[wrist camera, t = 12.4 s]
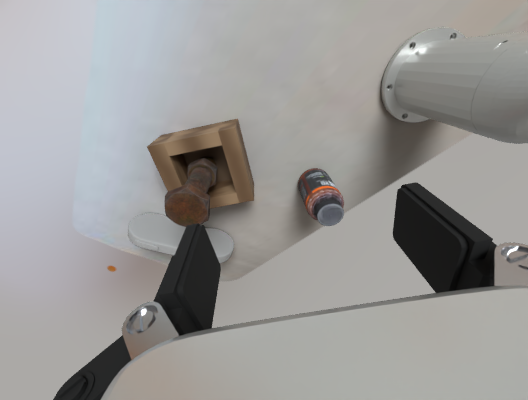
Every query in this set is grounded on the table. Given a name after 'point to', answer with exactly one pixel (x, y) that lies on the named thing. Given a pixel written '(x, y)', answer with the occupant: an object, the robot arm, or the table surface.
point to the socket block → (212, 145)
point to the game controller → (172, 235)
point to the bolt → (192, 194)
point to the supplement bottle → (321, 197)
